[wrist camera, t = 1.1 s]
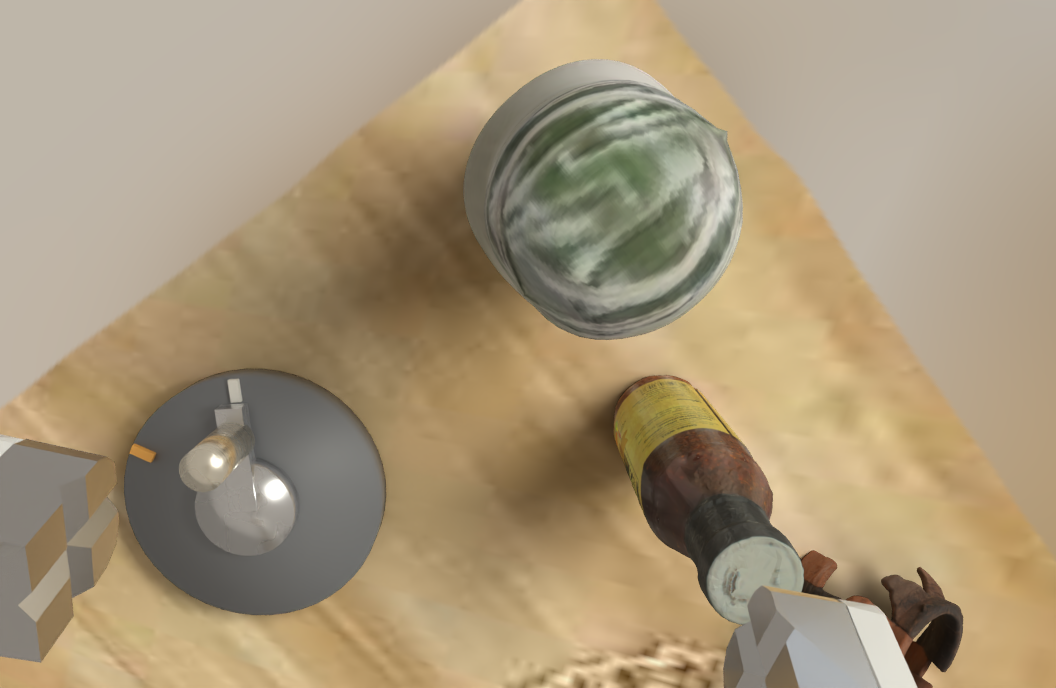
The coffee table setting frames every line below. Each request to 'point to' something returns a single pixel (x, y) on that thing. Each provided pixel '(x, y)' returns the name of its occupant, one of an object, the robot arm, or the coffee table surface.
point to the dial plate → (294, 446)
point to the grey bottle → (604, 199)
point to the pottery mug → (905, 615)
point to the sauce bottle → (703, 493)
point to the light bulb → (239, 488)
